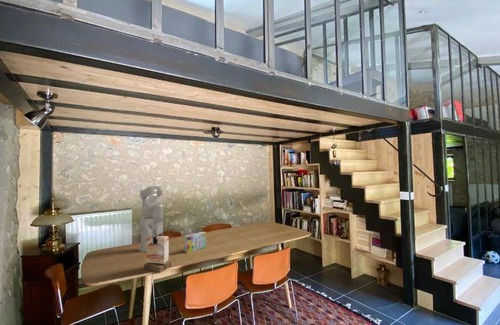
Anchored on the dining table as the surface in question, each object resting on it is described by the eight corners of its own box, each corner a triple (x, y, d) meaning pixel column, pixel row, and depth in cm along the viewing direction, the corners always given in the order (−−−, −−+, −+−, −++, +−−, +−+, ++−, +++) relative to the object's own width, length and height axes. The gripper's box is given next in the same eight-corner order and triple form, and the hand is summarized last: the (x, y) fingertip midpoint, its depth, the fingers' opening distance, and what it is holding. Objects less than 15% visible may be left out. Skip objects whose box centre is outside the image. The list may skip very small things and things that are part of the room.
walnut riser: (155, 264, 197) (155, 258, 197) (170, 267, 191) (170, 262, 191) (144, 269, 186) (144, 264, 186) (159, 273, 180) (159, 267, 180)
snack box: (203, 246, 240) (203, 231, 240) (206, 247, 236) (206, 232, 236) (184, 251, 225) (184, 235, 225) (187, 253, 221) (187, 236, 221)
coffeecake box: (146, 262, 186) (146, 237, 187) (151, 259, 193) (151, 235, 194) (164, 264, 184) (164, 238, 184) (168, 260, 191) (168, 235, 191)
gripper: (158, 217, 198) (158, 238, 198) (147, 222, 181) (147, 245, 181) (167, 217, 197) (167, 239, 197) (156, 222, 180) (156, 246, 180)
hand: (157, 242), depth 189 cm, fingers closed on coffeecake box, 7 cm apart
